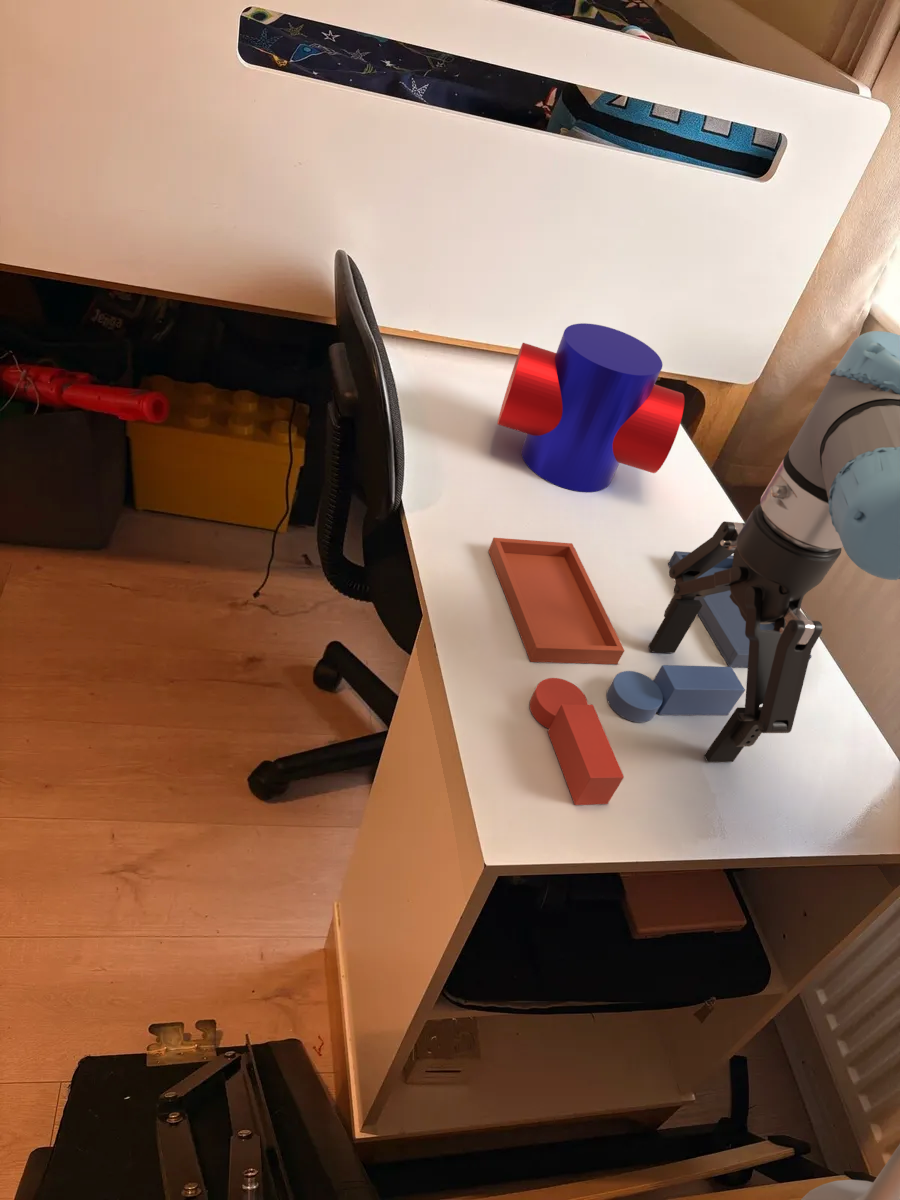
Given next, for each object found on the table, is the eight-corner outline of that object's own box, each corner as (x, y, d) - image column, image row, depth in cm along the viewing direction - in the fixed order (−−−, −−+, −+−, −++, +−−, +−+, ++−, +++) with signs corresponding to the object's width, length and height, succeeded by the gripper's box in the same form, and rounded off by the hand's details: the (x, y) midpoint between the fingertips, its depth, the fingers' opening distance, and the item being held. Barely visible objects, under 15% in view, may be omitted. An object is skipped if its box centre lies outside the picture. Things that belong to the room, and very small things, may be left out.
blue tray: (803, 669, 94) (812, 656, 93) (729, 667, 91) (737, 654, 90) (735, 568, 105) (742, 555, 104) (667, 563, 102) (674, 550, 101)
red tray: (617, 664, 87) (624, 650, 85) (530, 662, 84) (536, 647, 82) (566, 556, 98) (572, 543, 97) (488, 551, 95) (493, 537, 94)
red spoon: (617, 804, 73) (634, 777, 71) (564, 805, 72) (580, 778, 70) (571, 691, 82) (584, 664, 80) (523, 690, 80) (535, 662, 78)
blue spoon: (710, 685, 88) (727, 659, 86) (732, 722, 85) (749, 697, 82) (599, 683, 84) (613, 656, 82) (616, 722, 81) (632, 695, 78)
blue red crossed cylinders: (485, 463, 108) (526, 342, 98) (496, 418, 118) (534, 303, 108) (642, 512, 109) (698, 397, 99) (640, 463, 119) (691, 353, 109)
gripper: (697, 434, 79) (609, 609, 93) (843, 633, 62) (709, 813, 75) (767, 442, 82) (672, 612, 95) (928, 636, 64) (783, 810, 77)
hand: (688, 701), depth 85 cm, fingers open, 13 cm apart
